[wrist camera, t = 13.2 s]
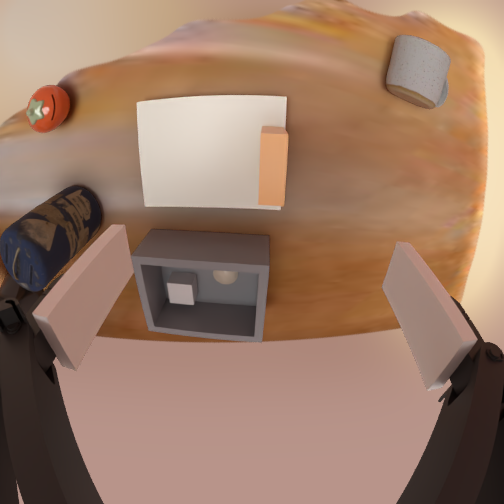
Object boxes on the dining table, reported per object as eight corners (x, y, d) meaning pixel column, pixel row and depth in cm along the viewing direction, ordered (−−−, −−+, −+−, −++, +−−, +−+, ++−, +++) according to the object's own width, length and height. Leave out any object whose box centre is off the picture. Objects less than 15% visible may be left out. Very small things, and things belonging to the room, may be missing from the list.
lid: (151, 199, 39) (117, 234, 30) (145, 101, 32) (102, 105, 22) (279, 202, 39) (283, 240, 29) (285, 97, 31) (293, 94, 22)
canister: (114, 211, 40) (47, 277, 25) (88, 245, 44) (31, 310, 28) (76, 171, 37) (-2, 219, 21) (54, 208, 40) (-12, 262, 25)
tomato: (78, 125, 33) (45, 135, 26) (46, 130, 33) (13, 141, 26) (79, 80, 29) (45, 81, 22) (46, 88, 29) (13, 92, 22)
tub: (162, 299, 48) (148, 330, 42) (151, 228, 41) (130, 255, 34) (262, 307, 48) (261, 342, 41) (269, 235, 41) (269, 265, 34)
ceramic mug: (374, 89, 29) (400, 88, 23) (386, 38, 25) (413, 28, 18) (435, 118, 30) (467, 126, 23) (446, 71, 26) (478, 72, 19)
